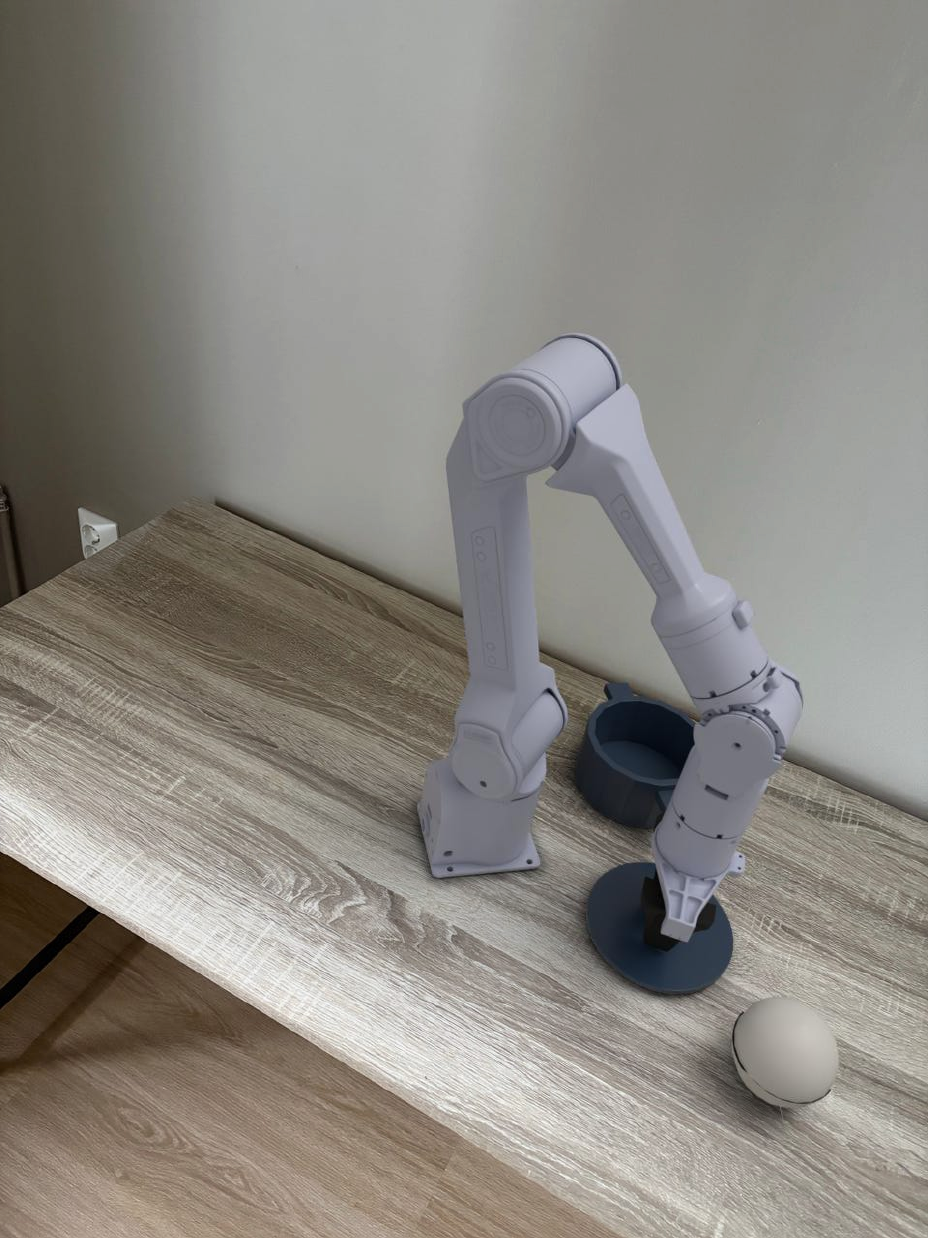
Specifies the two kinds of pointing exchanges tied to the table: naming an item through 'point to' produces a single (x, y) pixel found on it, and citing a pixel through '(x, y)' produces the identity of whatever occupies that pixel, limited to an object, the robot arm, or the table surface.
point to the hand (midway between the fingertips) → (660, 918)
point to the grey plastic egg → (785, 1052)
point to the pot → (632, 756)
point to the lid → (621, 945)
